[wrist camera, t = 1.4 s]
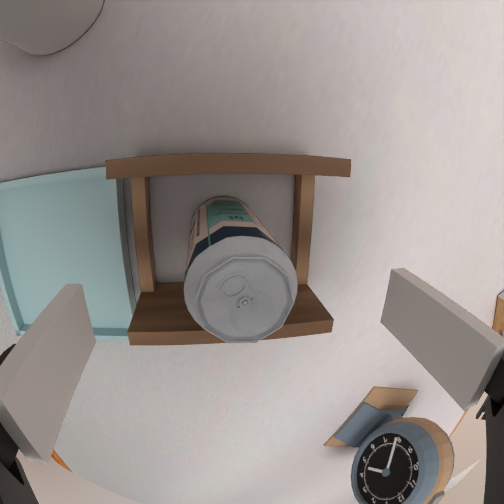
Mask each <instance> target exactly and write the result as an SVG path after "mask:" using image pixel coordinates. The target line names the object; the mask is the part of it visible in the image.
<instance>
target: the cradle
mask: <svg viewBox="0 0 504 504" xmlns="http://www.w3.org/2000/svg"><path fill="white" fill-rule="evenodd" d="M350 171H351V159H342V158H332V157H321V156H308V155H290V154H261V153H204V154H175V155H157V156H142V157H131V158H122V159H113V160H106V180H110V179H121V178H131V196H132V211H133V224H134V235H135V245H136V255H137V263H138V271H139V279H140V286H141V294H140V297H139V300H138V302H137V305H136V308H135V311H134V314H133V316H132V319H131V322H130V325H129V328H128V331H127V334H128V338H129V342H130V345H188V344H211V343H226V342H225V341H223V340H221V339H220V338H218V337H216V336H215V335H213V334H211V333H210V332H208V331H206V330H205V329H203V328H202V327H201V326H200V325H199V324H198V323H197V322H196V321H195V320H194V318H193V317H192V315H191V314H190V312H189V311H188V308H187V305H186V302H185V298H184V282H183V283H156V276H155V267H154V257H153V246H152V234H151V221H150V204H149V182H148V177H149V176H166V175H190V174H296V175H295V199H294V220H293V238H292V254H291V262H292V264H293V266H294V269H295V271H296V275H297V287H298V288H297V295H296V299H295V302H294V305H293V307H292V309H291V311H290V313H289V315H288V316H287V318H286V320H285V322H284V324H283V326H282V328H280V329H279V330H277V331H275V332H273V333H272V334H270V335H268V336H267V337H265V338H263V339H262V340H267V339H278V338H287V337H296V336H305V335H313V334H321V333H328V332H332V326H333V321H334V319H333V318H332V316H331V315H330V314H329V312H328V311H327V310H326V309H325V307H324V306H323V305H322V303H321V302H320V301H319V299H318V298H317V297H316V295H315V294H314V293H313V291H312V290H311V289H310V287H309V286H308V285H307V278H308V268H309V256H310V244H311V231H312V217H313V201H314V182H315V175H322V176H340V177H350Z"/></svg>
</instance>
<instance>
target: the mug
mask: <svg viewBox="0 0 504 504" xmlns="http://www.w3.org/2000/svg"><path fill="white" fill-rule="evenodd" d="M103 2H104V0H0V40H3V41H5V42H7V43H9V44H11V45H13V46H15V47H17V48H19V49H21V50H23V51H25V52H27V53H30V54H32V55H48V54H52V53H55V52H57V51H60V50H62V49H64V48H66V47H67V46H69V45H70V44H72V43H73V42H75V41H76V40H77V39H78V38H79V37H81V36H82V35H83V34H84V33H85V32H86V31H87V30H88V29H89V27H90V26H91V25H92V24H93V22H94V21H95V20H96V18H97V16H98V15H99V13H100V11H101V9H102V6H103Z"/></svg>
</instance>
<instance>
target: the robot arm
mask: <svg viewBox="0 0 504 504" xmlns="http://www.w3.org/2000/svg"><path fill="white" fill-rule="evenodd" d="M381 323H382V324H383V325H384V326H385V327H386V328H387V329H388V330H389V331H390V332H391V333H392V334H393V335H394V336H395V337H396V338H397V339H398V340H399V341H400V342H401V343H402V345H403V346H404V347H405V348H406V349H407V350H408V351H409V352H410V353H411V354H412V355H413V356H414V357H415V358H416V359H417V360H418V361H419V362H420V363H421V364H422V365H423V367H424V368H425V369H426V370H427V371H428V372H429V373H430V374H431V375H432V376H433V377H434V378H435V379H436V380H437V382H438V383H439V384H440V385H441V386H442V387H443V388H444V389H445V390H446V391H447V392H448V394H449V395H450V396H451V397H452V398H453V399H454V400H455V401H456V402H457V404H458V405H459V406H460V407H461V408H462V409H463V410H464V411H465V410H467V409H469V408H471V407H472V406H474V405H475V404H477V403H478V401H479V399H480V397H481V396H482V394H483V392H484V391H485V392H486V393H487V394H488V396H487V398H486V400H485V402H484V403H483V405H482V407H481V408H480V410H479V412H478V413H477V415H476V419H478V418H479V417H480V415H481V413H482V412H485V414H484V415H483V417H482V418H481V419H483V420H486V436H487V437H486V438H487V459H486V482H485V494H484V504H504V337H502V336H501V335H500V334H498V333H497V332H496V331H494V330H493V329H492V328H490V327H489V326H488V325H486V324H485V323H484V322H482V321H481V320H479V319H478V318H477V317H475V316H474V315H473V314H471V313H470V312H468V311H467V310H466V309H464V308H463V307H461V306H460V305H458V304H457V303H456V302H454V301H453V300H451V299H450V298H448V297H447V296H445V295H444V294H443V293H441V292H440V291H438V290H437V289H435V288H434V287H432V286H431V285H429V284H428V283H426V282H425V281H423V280H422V279H420V278H419V277H417V276H416V275H414V274H412V273H411V272H409V271H408V270H406V269H405V268H399V269H391V274H390V280H389V285H388V290H387V295H386V300H385V304H384V309H383V313H382V317H381ZM95 343H96V339H95V336H94V332H93V328H92V325H91V321H90V317H89V313H88V309H87V304H86V300H85V296H84V291H83V286H82V284H66V285H65V286H64V287H63V288H62V289H61V290H60V291H59V293H58V294H57V295H56V296H55V297H54V298H53V299H52V301H51V302H50V303H49V304H48V305H47V306H46V308H45V309H44V310H43V311H42V312H41V314H40V315H39V316H38V317H37V318H36V320H35V321H34V322H33V323H32V325H31V326H30V327H29V328H28V330H27V331H26V332H25V333H24V335H23V336H22V337H21V338H20V340H19V341H18V342H17V344H13V345H12V346H11V347H9V348H8V349H7V350H5V351H4V352H3V353H2V354H1V356H0V504H39V503H38V501H37V499H36V497H35V495H34V493H33V491H32V488H31V486H30V484H29V482H28V480H27V477H26V475H25V472H24V470H23V468H22V465H21V463H20V461H19V460H18V459H17V457H16V454H17V452H18V449H20V451H21V452H22V453H23V454H24V456H26V458H27V459H28V460H30V461H33V462H37V463H40V464H44V465H48V464H49V461H50V458H51V455H52V452H53V449H54V445H55V442H56V440H57V437H58V434H59V431H60V428H61V425H62V422H63V420H64V417H65V414H66V412H67V409H68V406H69V404H70V401H71V399H72V396H73V394H74V391H75V389H76V386H77V384H78V381H79V379H80V377H81V374H82V372H83V370H84V367H85V365H86V363H87V361H88V358H89V356H90V354H91V352H92V349H93V347H94V345H95Z"/></svg>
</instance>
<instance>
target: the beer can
mask: <svg viewBox="0 0 504 504" xmlns="http://www.w3.org/2000/svg"><path fill="white" fill-rule="evenodd" d="M297 288H298V287H297V275H296V271H295V269H294V266H293V264H292V262H291V260H290V259H289V257H288V256H287V255H286V254H285V252H284V251H283V250H282V249H281V247H280V246H279V245H278V244H277V242H276V241H275V240H274V239H273V237H272V236H271V235H270V234H269V232H268V231H267V230H266V229H265V227H264V226H263V225H262V224H261V222H260V221H259V220H258V219H257V217H256V216H255V215H254V214H253V212H252V211H251V210H250V209H249V207H248V206H247V205H246V204H244V203H243V202H242V201H240V200H238V199H236V198H233V197H228V196H220V197H214V198H212V199H210V200H208V201H206V202H205V203H204V204H202V205H201V206H200V207H199V208H198V209H197V211H196V212H195V214H194V217H193V220H192V224H191V231H190V239H189V247H188V255H187V264H186V273H185V282H184V298H185V302H186V305H187V308H188V311H189V312H190V314H191V315H192V317H193V318H194V320H195V321H196V322H197V323H198V324H199V325H200V326H201V327H202V328H203V329H205V330H206V331H208V332H210V333H211V334H213V335H215V336H216V337H218V338H220V339H221V340H223V341H225V342H226V343H255V342H258V341H260V340H262V339H263V338H265V337H267V336H268V335H270V334H272V333H273V332H275V331H277V330H279V329H280V328H282V326H283V324H284V322H285V320H286V318H287V316H288V315H289V313H290V311H291V309H292V307H293V305H294V302H295V299H296V295H297Z"/></svg>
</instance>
